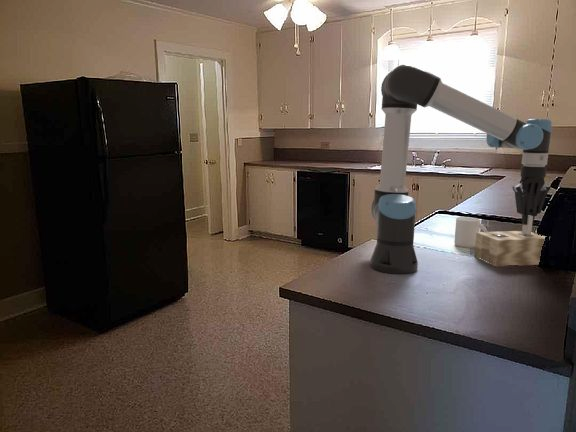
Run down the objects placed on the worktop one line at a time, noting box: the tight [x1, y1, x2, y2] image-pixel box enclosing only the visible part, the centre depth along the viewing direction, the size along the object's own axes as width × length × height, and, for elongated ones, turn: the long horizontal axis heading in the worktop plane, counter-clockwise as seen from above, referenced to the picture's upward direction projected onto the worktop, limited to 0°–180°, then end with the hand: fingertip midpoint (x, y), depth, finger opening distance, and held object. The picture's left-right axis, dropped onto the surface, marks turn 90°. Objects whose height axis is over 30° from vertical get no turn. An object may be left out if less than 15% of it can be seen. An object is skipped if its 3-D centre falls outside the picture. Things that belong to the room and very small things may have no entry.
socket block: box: [473, 230, 546, 267], centre depth 152 cm, size 20×12×9 cm, turn 99°
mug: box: [453, 216, 488, 249], centre depth 170 cm, size 9×12×11 cm
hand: (526, 233), depth 151 cm, fingers closed
